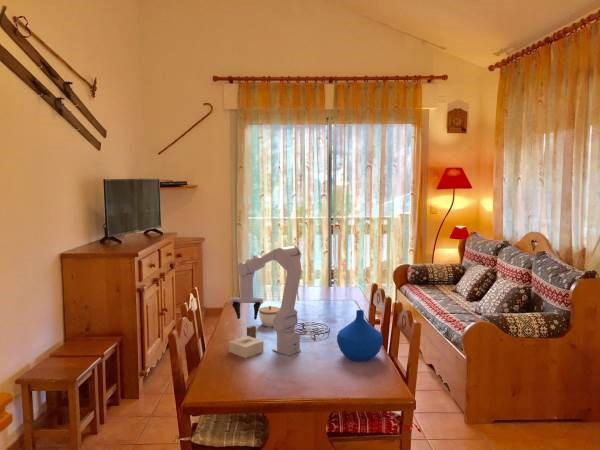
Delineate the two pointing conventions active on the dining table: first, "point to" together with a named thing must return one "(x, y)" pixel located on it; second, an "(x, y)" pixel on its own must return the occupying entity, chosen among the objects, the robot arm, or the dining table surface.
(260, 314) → the lidded jar
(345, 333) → the vase
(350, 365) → the dining table surface
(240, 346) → the cream square hole block
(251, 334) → the brown rectangular block
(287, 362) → the dining table surface
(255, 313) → the robot arm
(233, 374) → the dining table surface
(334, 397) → the dining table surface
